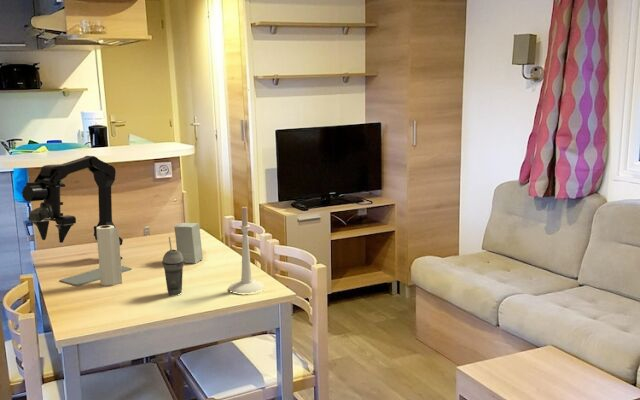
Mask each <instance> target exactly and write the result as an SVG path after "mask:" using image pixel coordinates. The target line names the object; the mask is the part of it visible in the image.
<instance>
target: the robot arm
mask: <svg viewBox="0 0 640 400" xmlns="http://www.w3.org/2000/svg"><path fill="white" fill-rule="evenodd" d="M85 169H88V171H89V172H90V173H92V174H93V180H94V182H95V183H96V185H97V188H98V223H97V225H94V226H93V237H94V238H95V240H96V241H97V230H96V228H97V227H99V226H104V225H112V226H114V228H117V227H116V226H115V224H114V222H113V212H112V211H113V208H112V205H113V204H112V202H113V201H112V186H113V184H114V182H115V180H116V174H117V173H116V168H115V167H114V166H113V165H111V164H108V163H107V162H106V161H103V160H101V159H99V158H98V157H97V156H95V155H85V156H83V157H80V158H78V159H74V160H71V161H68V162H64V163H60V164H58V163H57V164H45V165H43V166H41V169H40V172H39V173H38V175H37V176H36V178H35V180H34V181H33V182H30V181H27V182H26V183H25V184H26V185H25V186H24V187H23V188H22V191H21V195H22V198H23V200H24V201H25V202H40V201H41V202H40V204H39V207H37V208H35V209H32V210H30V211H29V212H28V221H30V223H31V224H33V225H34V226H36V227H37V230H38V233H39V235H40V238H41V239H42V241H46V239H47V235H48V230H49V225H50V221H53V222H55V227H56V228H57V230H58V242H59V243H61V244H62V243H64V241H65V239H66V236H67V235H68V233H69V232H70V229H71V228H72V226H74V224H77V218H76V216H74V215H69V214H67V215H64V213H63V212H61V210H62V209H61V206H63V205H64V202H63V201H61V188H65V187H66V184H65V183H64V182H62V180H64V179H66V178H67V177H68V175H70V174H74V173H77V172H79V171H83V170H85ZM42 201H43V202H42ZM123 241H124V239H123V238H121V237H120V236H119V243H120V246H122V245H123ZM120 258H121V260H123V257H122V256H120Z"/></svg>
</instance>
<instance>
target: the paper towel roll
mask: <svg viewBox="0 0 640 400" xmlns="http://www.w3.org/2000/svg"><path fill="white" fill-rule="evenodd" d="M96 230H97V240H96V243H97V254H98V268H99V269H100V285H101V286H105V287H107V286H116V285H122V284H123V275H122V274H123V272H121V266H122V259H121V258H120V257H121V245H120V243H119V237H120V231H119V227H116V228H114V226H112V225H104V226H99V227H97V228H96Z"/></svg>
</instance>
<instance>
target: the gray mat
mask: <svg viewBox="0 0 640 400" xmlns="http://www.w3.org/2000/svg"><path fill="white" fill-rule="evenodd" d="M132 269H133V267H129V266H124V265H121V272H122V273H124V272H128V271H131V270H132ZM99 280H100V269H99V267H98V268H94V269H92V270H89V271H86V272H82V273H78V274H76V275H71V276H69V277H65V278H61V279H59V282H60V283H64V284H68V285H72V286H75V287H80V286H85V285H86V284H87V285H88V284H89V283H93V282H96V281H99Z"/></svg>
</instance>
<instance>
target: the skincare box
mask: <svg viewBox="0 0 640 400" xmlns="http://www.w3.org/2000/svg"><path fill="white" fill-rule="evenodd" d="M173 228H174V235H175V236H174V237H175V244H176V250H177V251H179V252H180V253H181V254H182V256H183V260H184V262H185V263H184V264H197V263H198V261H199V262H200V260H201V259H202V260H203V256H204V255H203V249H202V247H203V246H202V238H201V228H200V223H198V222H181V223H179V224H177V225H174V227H173ZM202 260H201V261H202Z"/></svg>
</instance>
